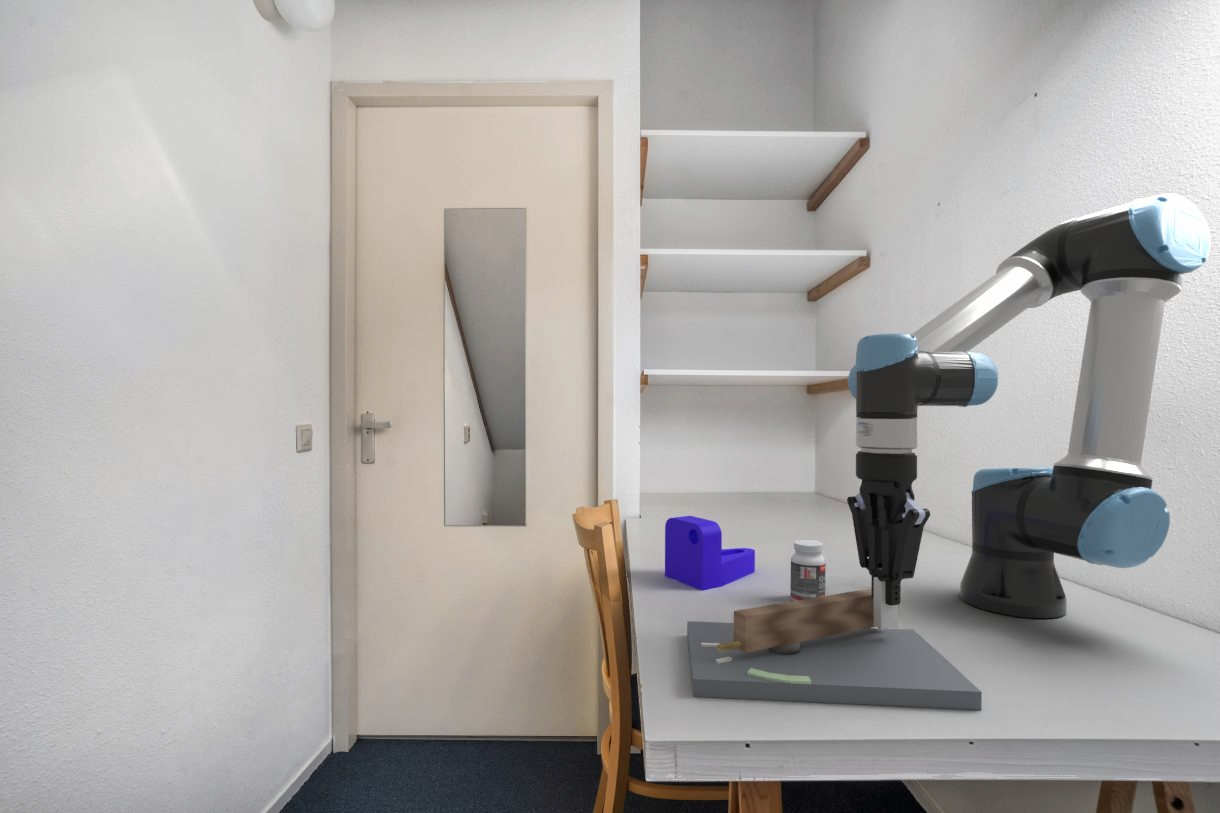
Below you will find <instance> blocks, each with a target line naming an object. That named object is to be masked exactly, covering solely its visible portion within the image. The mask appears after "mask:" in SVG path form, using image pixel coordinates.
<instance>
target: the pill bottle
mask: <svg viewBox="0 0 1220 813" xmlns="http://www.w3.org/2000/svg"><path fill="white" fill-rule="evenodd" d="M823 546H824V545H823V543H822V542H821V541H819V540H814V539H813V540H812V539H811V540H810V539H799V540H798V539H797V540H795V541H794V542H793V549H794V551H795V553H794V554H792V555H791V557H790V594H789V595H790V599H791V600H792V601H797V600H804V599H810V598H816V597H822V596H826V566H827V564H826V563H827V562H826V559H825V557H824V556H823V555H822V552H823V551H824V548H823Z"/></svg>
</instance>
